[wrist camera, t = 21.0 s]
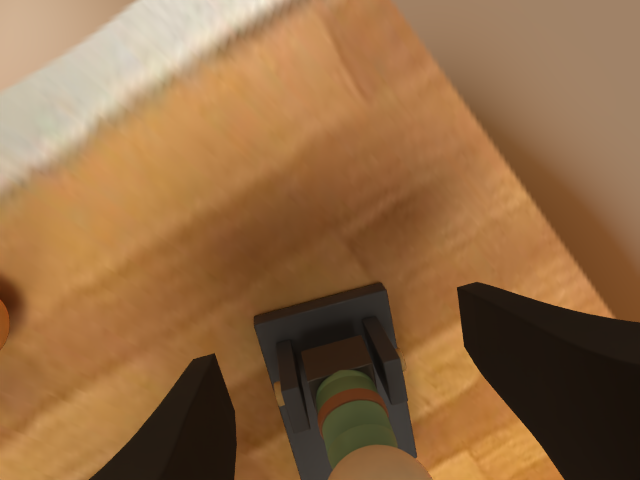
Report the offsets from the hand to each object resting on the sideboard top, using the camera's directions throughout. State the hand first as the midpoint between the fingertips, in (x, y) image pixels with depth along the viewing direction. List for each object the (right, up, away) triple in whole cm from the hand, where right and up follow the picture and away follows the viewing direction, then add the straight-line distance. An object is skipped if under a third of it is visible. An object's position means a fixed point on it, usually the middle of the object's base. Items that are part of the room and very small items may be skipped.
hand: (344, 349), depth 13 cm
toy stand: (0, -5, +13) cm, 14 cm away
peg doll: (0, -3, +9) cm, 10 cm away
